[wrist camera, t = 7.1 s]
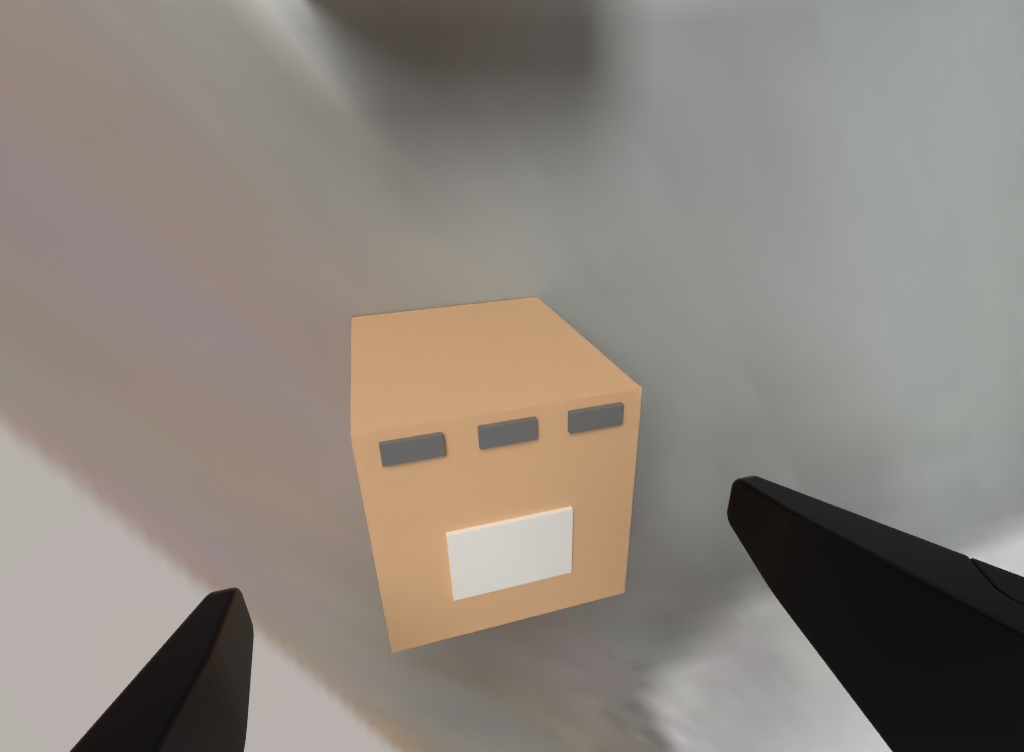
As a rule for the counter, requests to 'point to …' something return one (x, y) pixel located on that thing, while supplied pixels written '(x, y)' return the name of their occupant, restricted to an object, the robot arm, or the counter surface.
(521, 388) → the light brown cardboard box
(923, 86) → the counter surface
